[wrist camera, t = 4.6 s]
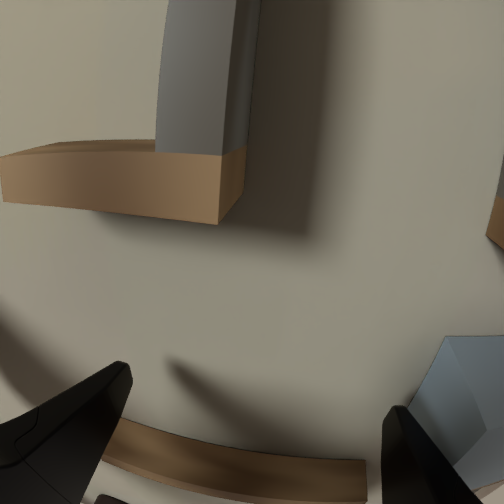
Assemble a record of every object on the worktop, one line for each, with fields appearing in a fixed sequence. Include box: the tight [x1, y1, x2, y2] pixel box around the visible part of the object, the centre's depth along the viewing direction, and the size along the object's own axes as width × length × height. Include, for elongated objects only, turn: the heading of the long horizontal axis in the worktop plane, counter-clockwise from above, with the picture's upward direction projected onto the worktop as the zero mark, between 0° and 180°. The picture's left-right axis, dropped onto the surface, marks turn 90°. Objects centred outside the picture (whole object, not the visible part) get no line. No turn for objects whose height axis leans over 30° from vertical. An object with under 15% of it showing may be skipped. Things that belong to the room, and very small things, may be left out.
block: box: [407, 336, 504, 490], centre depth 7 cm, size 6×5×4 cm
